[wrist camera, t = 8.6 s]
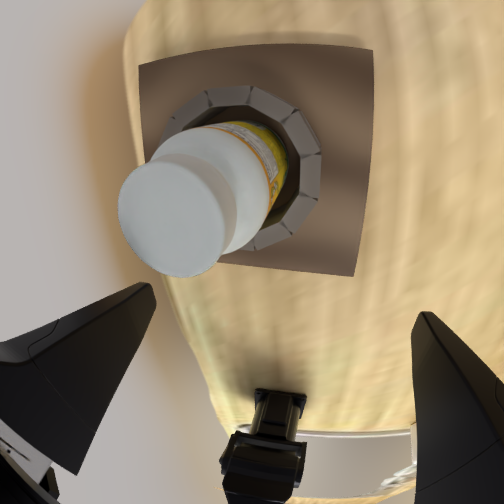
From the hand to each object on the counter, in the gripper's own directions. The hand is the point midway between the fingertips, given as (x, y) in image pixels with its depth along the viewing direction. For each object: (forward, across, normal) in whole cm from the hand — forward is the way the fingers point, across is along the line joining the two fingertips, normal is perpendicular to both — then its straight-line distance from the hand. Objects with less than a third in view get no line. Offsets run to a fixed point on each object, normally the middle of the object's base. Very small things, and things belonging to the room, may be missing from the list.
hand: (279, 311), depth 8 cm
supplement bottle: (+10, +4, -3) cm, 11 cm away
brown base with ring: (+12, +4, -3) cm, 13 cm away
